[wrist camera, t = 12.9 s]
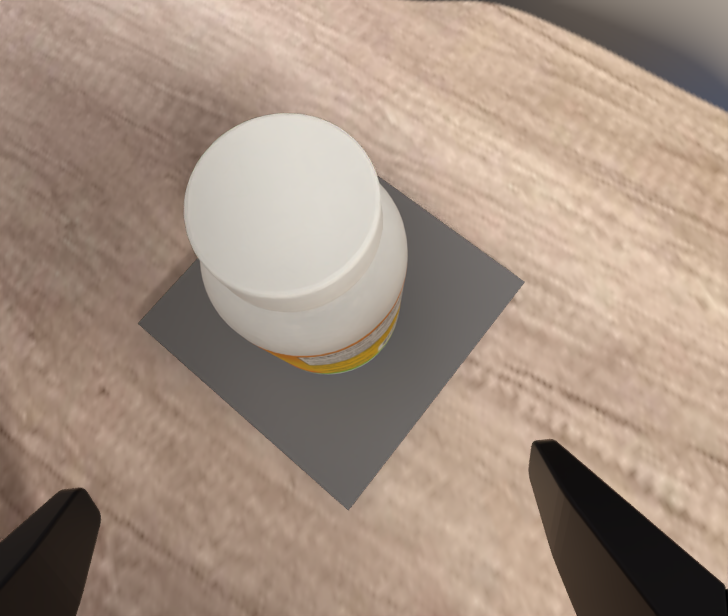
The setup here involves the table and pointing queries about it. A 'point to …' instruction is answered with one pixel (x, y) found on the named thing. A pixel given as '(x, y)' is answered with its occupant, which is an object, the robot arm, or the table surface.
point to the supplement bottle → (298, 241)
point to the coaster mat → (356, 387)
